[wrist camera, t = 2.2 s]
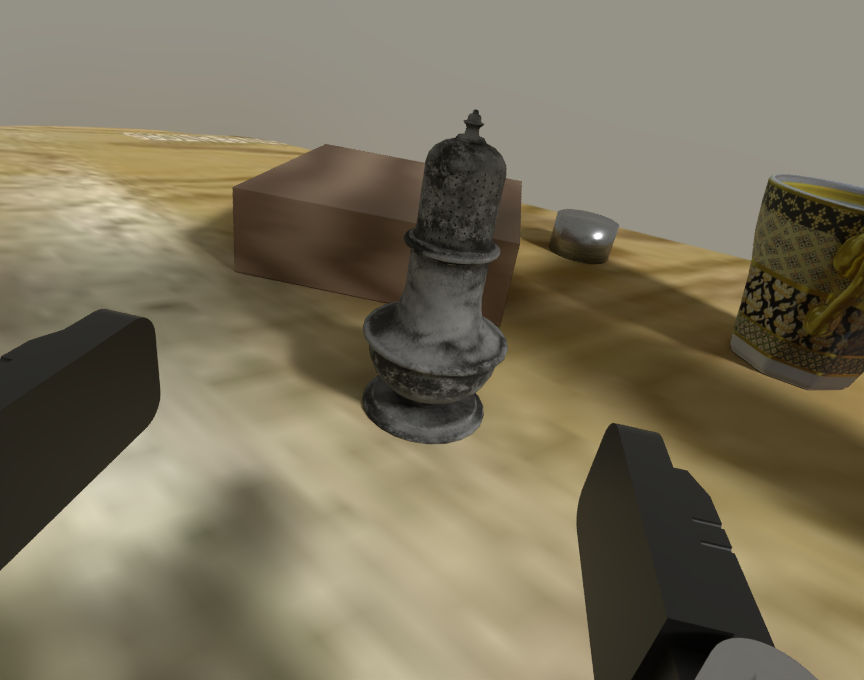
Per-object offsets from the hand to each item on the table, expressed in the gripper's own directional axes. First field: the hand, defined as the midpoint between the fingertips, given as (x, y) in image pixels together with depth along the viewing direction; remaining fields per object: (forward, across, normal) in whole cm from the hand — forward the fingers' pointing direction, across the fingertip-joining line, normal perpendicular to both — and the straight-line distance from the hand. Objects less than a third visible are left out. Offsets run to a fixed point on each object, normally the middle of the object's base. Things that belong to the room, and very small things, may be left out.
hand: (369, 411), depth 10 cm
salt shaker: (+12, 0, +8) cm, 14 cm away
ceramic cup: (+23, -20, +8) cm, 32 cm away
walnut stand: (+29, +5, +8) cm, 30 cm away
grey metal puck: (+38, -9, +8) cm, 40 cm away
